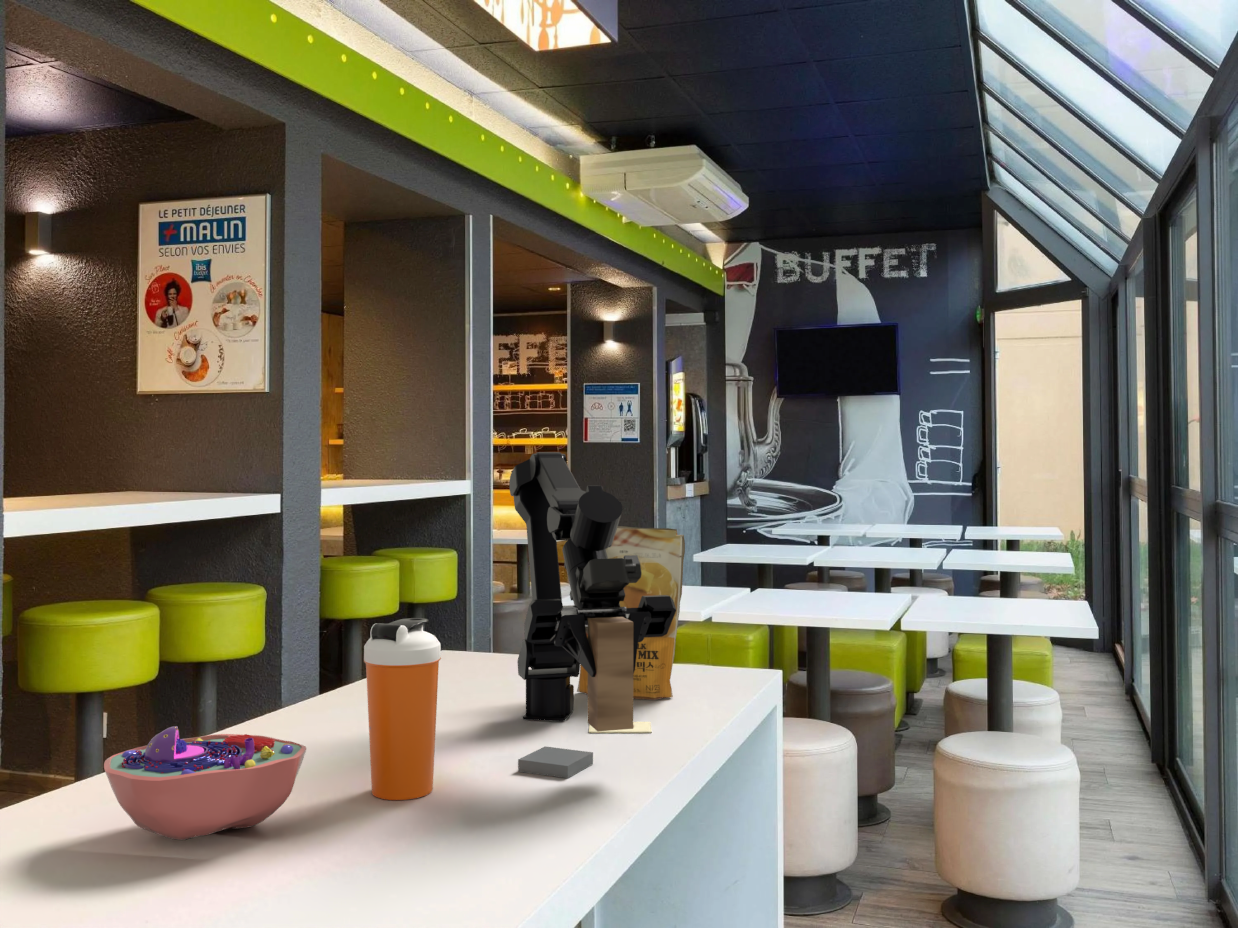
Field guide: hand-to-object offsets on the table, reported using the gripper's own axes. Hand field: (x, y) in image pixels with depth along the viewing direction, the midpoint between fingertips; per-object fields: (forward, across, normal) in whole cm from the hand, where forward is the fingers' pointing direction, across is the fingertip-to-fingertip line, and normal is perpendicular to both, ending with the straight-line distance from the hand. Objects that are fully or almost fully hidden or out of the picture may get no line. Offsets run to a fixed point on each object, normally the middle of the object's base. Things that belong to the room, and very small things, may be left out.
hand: (613, 673), depth 135 cm
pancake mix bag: (-24, +16, +43) cm, 51 cm away
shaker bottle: (+7, -25, +11) cm, 28 cm away
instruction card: (-8, +8, +27) cm, 30 cm away
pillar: (+4, 0, +6) cm, 7 cm away
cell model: (+13, -46, +5) cm, 48 cm away
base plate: (+4, -5, +14) cm, 16 cm away
